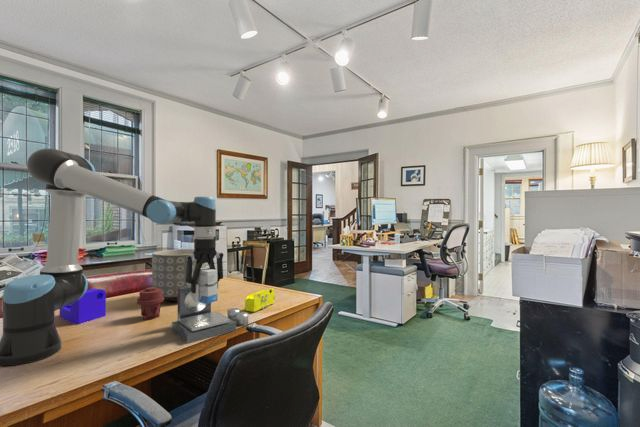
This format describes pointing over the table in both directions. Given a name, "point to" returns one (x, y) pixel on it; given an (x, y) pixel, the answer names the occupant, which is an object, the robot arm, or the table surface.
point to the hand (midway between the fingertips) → (205, 299)
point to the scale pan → (204, 321)
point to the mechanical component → (150, 302)
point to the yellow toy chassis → (259, 300)
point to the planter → (171, 271)
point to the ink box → (207, 285)
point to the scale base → (192, 309)
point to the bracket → (86, 307)
